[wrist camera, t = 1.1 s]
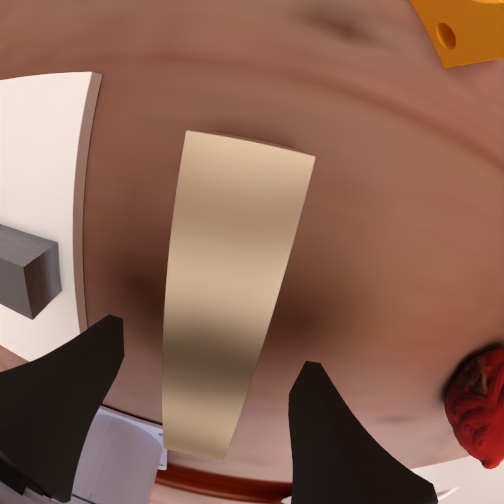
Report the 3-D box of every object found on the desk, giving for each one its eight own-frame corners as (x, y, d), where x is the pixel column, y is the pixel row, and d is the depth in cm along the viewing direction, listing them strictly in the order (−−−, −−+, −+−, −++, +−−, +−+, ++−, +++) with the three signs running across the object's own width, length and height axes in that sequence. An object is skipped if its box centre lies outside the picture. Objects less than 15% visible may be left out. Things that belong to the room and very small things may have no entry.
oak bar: (230, 399, 18) (223, 460, 14) (179, 388, 18) (163, 448, 13) (294, 148, 12) (315, 156, 7) (215, 131, 12) (186, 130, 7)
